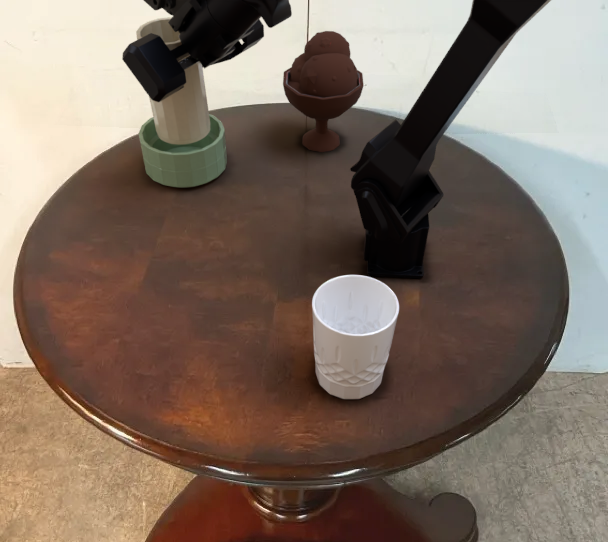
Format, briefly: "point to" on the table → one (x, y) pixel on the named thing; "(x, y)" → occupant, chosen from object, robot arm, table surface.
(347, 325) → the white cup
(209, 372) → the table surface
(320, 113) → the ice cream bowl
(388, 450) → the table surface
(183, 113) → the cream cup
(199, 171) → the sage bowl
